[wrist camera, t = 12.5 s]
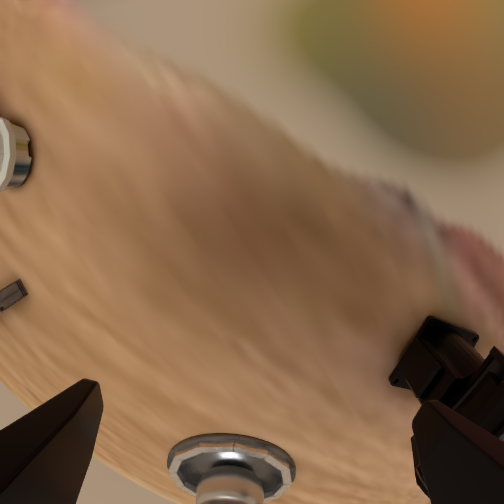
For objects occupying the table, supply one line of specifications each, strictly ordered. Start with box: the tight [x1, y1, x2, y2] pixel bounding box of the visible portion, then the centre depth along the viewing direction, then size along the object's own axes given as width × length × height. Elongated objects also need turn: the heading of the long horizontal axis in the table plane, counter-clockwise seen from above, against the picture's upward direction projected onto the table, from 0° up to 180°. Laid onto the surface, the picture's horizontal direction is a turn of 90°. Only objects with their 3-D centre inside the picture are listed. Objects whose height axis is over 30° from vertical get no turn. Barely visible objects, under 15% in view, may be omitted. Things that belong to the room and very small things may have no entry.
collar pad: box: [167, 433, 295, 503], centre depth 26 cm, size 13×13×1 cm
